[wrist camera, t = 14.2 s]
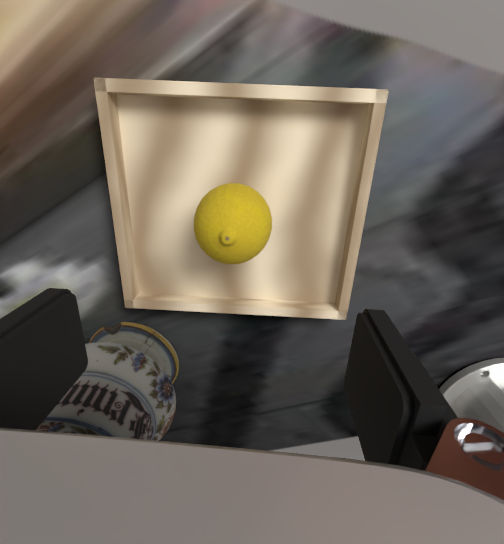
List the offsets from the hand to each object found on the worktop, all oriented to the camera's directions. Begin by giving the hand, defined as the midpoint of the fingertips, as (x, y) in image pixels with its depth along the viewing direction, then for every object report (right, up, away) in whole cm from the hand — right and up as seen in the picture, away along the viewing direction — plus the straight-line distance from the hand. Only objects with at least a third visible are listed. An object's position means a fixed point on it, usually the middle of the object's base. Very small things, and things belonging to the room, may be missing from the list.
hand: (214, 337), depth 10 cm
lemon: (0, +7, +16) cm, 18 cm away
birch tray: (0, +8, +17) cm, 18 cm away
